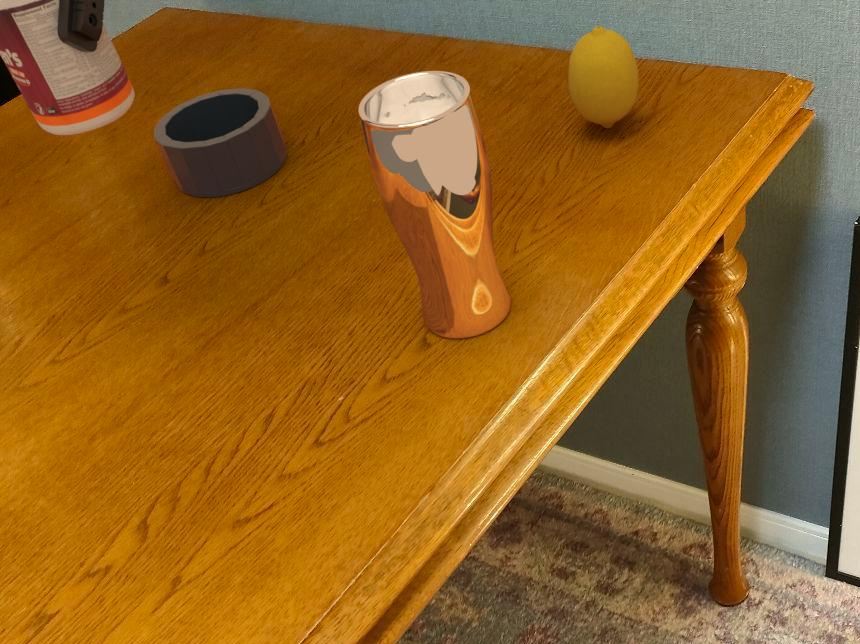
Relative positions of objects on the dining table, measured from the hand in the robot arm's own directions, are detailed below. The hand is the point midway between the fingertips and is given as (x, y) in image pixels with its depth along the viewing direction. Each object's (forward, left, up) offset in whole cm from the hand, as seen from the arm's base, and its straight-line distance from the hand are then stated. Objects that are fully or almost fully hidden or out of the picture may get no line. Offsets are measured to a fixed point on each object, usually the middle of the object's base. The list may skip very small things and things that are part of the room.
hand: (31, 45), depth 58 cm
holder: (-12, +19, -20) cm, 30 cm away
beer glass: (+20, +8, -20) cm, 30 cm away
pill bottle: (0, +2, -5) cm, 5 cm away
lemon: (+18, +33, -20) cm, 43 cm away
